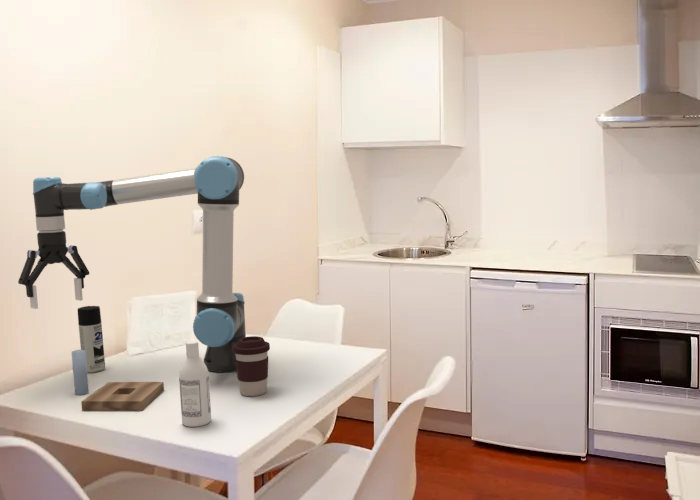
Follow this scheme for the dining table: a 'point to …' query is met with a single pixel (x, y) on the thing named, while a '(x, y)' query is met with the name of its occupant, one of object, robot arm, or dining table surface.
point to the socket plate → (123, 396)
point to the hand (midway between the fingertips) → (57, 304)
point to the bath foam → (194, 388)
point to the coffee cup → (252, 365)
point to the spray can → (91, 337)
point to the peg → (80, 372)
